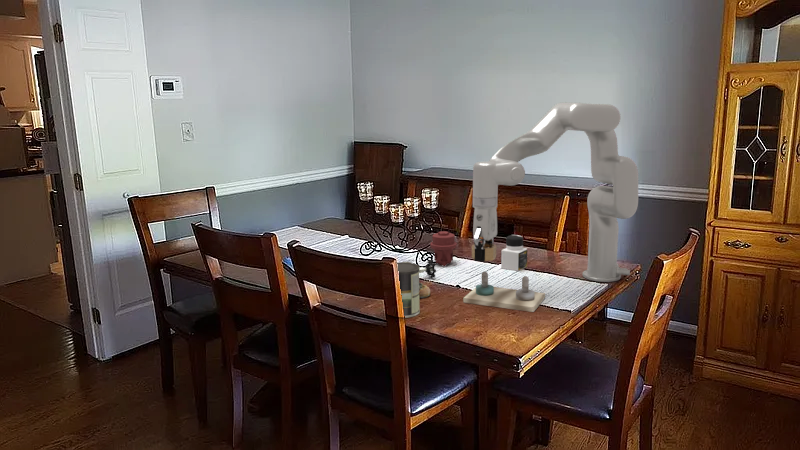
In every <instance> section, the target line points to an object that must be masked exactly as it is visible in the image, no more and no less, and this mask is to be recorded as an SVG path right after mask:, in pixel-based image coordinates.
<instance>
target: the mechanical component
mask: <svg viewBox="0 0 800 450" xmlns="http://www.w3.org/2000/svg"><path fill="white" fill-rule="evenodd" d="M431 237H432V241H431V242H430V245H429V247H430V248H431V249H432V250H433V251H434V252H433V253H434V260H433V261H434V262H435V264H437V263H438V265H441V266H442V267H446V266H447V265H448V264H451V263H452V261H453V260H454V250H455V249H456V248H457V246H458V243H457V242H456V239H455V237H456V236H455V234H454V233H451V232H449V231H445V230H444V231H442V230H441V231H438V232H436V233H433V234H432V236H431Z"/></svg>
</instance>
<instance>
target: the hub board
mask: <svg viewBox="0 0 800 450" xmlns="http://www.w3.org/2000/svg"><path fill="white" fill-rule="evenodd" d="M529 282H530V278H529V277H528V276H526V275H524V276H522V278H521V289H513V288H508V287H507V288H506V287H505V288H504V287H499V286H494V285H492V284H489V273H488V272H487V271H483V272H481V284H480V283H479V284H477V285H476V286H475V288H474V289H472V290H471V291H470V292H469V293H467V294H466V295H465V296H464V297H463V300H462V301H463V303H465V304H472V305H480V306H487V307H494V308H501V309H509V310H517V311H523V312H529V313H534V312H535V311H536V310H537V308H538V307H539V306H540V305H541V303H542V302H543V301H544V300H545V299H544V298H546V293H545V292H539V291H534V290H532V289H529V288H530V287H529V286H530V285H529V284H530V283H529Z"/></svg>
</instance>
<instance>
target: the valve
mask: <svg viewBox="0 0 800 450" xmlns="http://www.w3.org/2000/svg"><path fill="white" fill-rule="evenodd" d="M407 262H408V263H412V262H410V261H407ZM435 267H436V262H435V263H434V260H433V259H429V260H427V264H426V265H425V267H423V266H422V267H419V274H421V273H424V272H425V273H426V275H428V276H429V278H430V279H433V278H436V274H435V273H437V270H436V268H435Z"/></svg>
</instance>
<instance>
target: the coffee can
mask: <svg viewBox="0 0 800 450" xmlns="http://www.w3.org/2000/svg"><path fill="white" fill-rule="evenodd" d="M408 262H409V261H402V262H396V263H397V264H398V271H399V281H400V289H401V295H402V302H403V309H404V316H405V318H404V319H407V318H413V317H416V316H418V315H420V314H421V313H420V312H421V311H420V297H419V283H420V273H419V268H420V265H419V264H417V263H413V262H411V263H408Z"/></svg>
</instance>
